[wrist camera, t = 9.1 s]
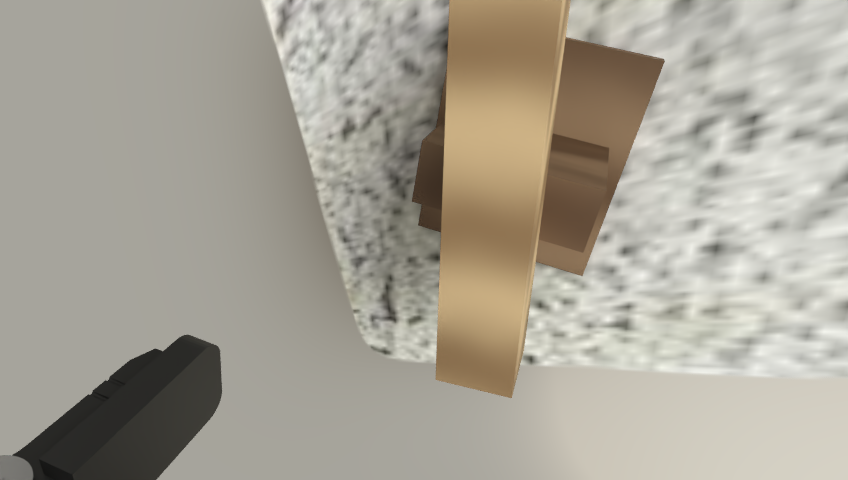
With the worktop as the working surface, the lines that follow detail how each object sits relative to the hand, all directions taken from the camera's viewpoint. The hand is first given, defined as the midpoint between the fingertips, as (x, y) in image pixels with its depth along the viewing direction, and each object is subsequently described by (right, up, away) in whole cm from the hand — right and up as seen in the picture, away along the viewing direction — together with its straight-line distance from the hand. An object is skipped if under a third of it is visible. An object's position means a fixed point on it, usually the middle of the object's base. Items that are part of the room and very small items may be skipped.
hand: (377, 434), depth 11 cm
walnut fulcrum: (+7, +9, +17) cm, 21 cm away
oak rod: (+4, +6, +12) cm, 14 cm away
